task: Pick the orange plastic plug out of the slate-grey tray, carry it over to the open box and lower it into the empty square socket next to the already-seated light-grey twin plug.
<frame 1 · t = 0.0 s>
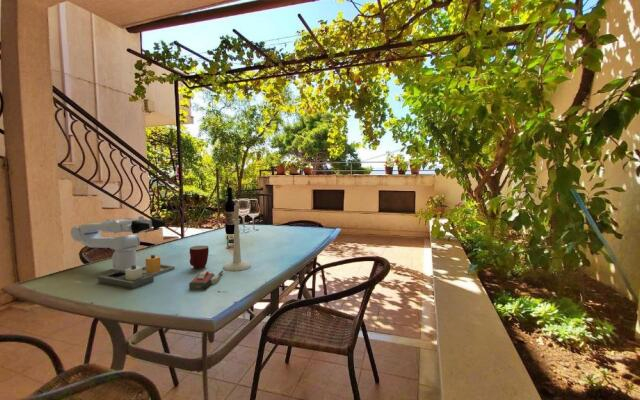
hand: (156, 224, 129), 22 cm above the table, tool horizontal, fingers open, 7 cm apart
open box: (126, 283, 119), on the table
tray: (153, 272, 133), on the table
twin plug: (134, 283, 117), resting on open box
walkie-talkie: (207, 282, 122), on the table
plug: (153, 271, 133), point 1 cm above the table, touching tray
mug: (198, 269, 138), on the table
candlestick: (237, 267, 142), on the table
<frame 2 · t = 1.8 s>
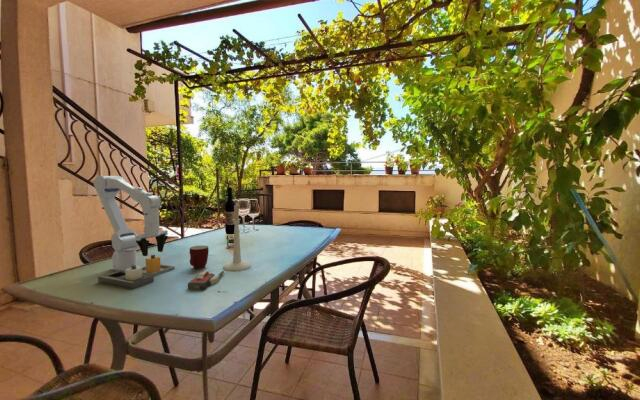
hand: (152, 253, 132), 9 cm above the table, tool pointing down, fingers open, 7 cm apart
nothing on the table moved.
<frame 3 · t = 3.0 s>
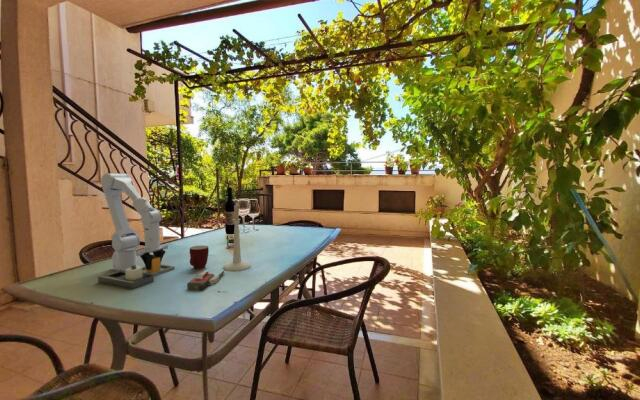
hand: (153, 268, 132), 2 cm above the table, tool pointing down, fingers closed on plug, 4 cm apart
plug: (153, 271, 133), point 1 cm above the table, touching gripper, tray
everything else where it was.
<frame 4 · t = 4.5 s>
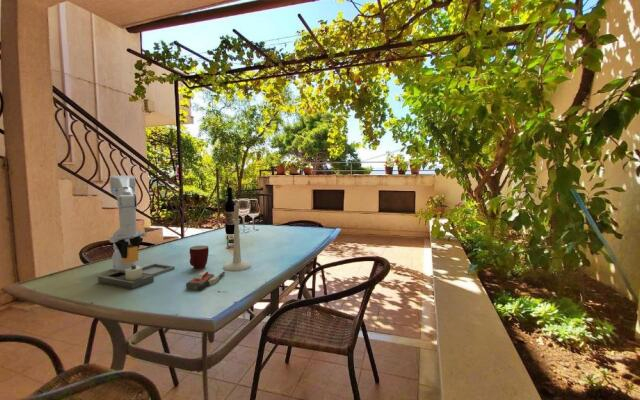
hand: (129, 256, 124), 9 cm above the table, tool pointing down, fingers closed on plug, 4 cm apart
plug: (130, 261, 124), point 7 cm above the table, touching gripper
everything else where it was.
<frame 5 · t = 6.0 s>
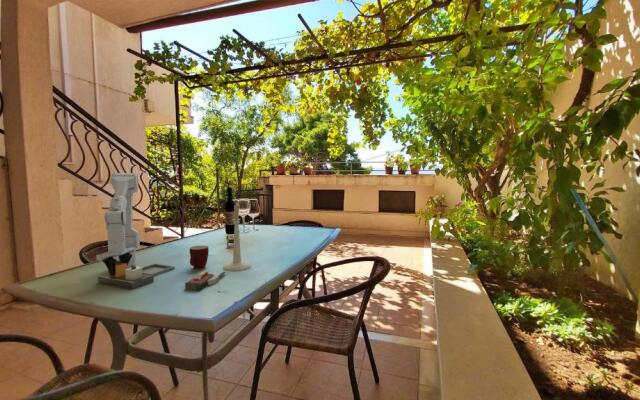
hand: (118, 273, 120), 3 cm above the table, tool pointing down, fingers closed on plug, 4 cm apart
plug: (119, 278, 120), point 1 cm above the table, touching gripper
everything else where it was.
when the fingers open (3 cm above the table, at t = 6.1 s): plug stays where it is, resting on open box.
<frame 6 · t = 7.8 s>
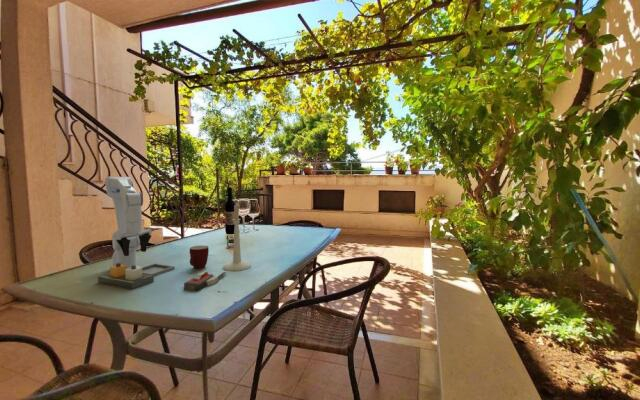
hand: (135, 253, 126), 10 cm above the table, tool pointing down, fingers open, 7 cm apart
plug: (119, 280, 120), resting on open box
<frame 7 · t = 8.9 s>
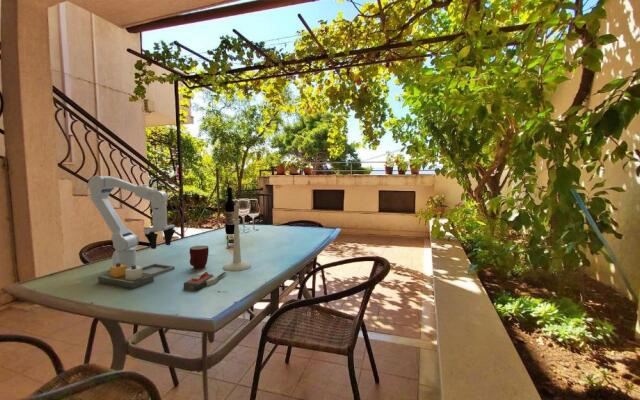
hand: (160, 246, 137), 10 cm above the table, tool pointing down, fingers open, 7 cm apart
nothing on the table moved.
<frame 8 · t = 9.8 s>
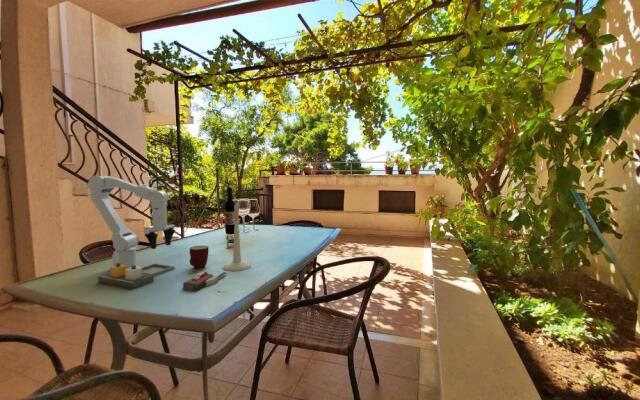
hand: (160, 246, 137), 10 cm above the table, tool pointing down, fingers open, 7 cm apart
at the end: plug 0.3 cm from the target spot on the open box, point 0.5 cm above the open box's base; plug tilted 0°; twin plug moved 0.0 cm from its start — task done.
